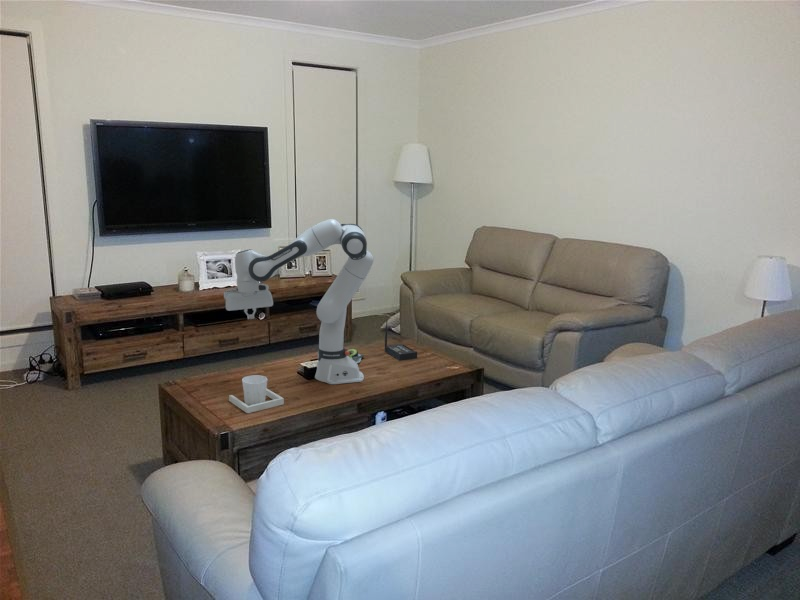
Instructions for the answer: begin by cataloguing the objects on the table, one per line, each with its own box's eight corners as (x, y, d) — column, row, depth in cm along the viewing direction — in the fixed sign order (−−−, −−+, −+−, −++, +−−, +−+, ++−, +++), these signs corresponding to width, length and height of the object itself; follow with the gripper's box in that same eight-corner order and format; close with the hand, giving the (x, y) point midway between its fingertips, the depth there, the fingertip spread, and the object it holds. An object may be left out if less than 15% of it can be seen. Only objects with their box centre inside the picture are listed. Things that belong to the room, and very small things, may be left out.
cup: (268, 405, 251) (269, 382, 248) (243, 407, 247) (243, 384, 245) (265, 396, 260) (265, 374, 258) (241, 398, 256) (240, 376, 254)
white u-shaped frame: (229, 401, 253) (229, 395, 253) (265, 392, 264) (265, 387, 263) (247, 413, 242) (247, 407, 242) (283, 404, 253) (283, 398, 252)
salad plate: (361, 369, 301) (362, 360, 300) (325, 367, 301) (325, 358, 300) (364, 356, 319) (365, 348, 318) (330, 354, 320) (330, 346, 319)
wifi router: (419, 358, 321) (421, 326, 317) (396, 362, 314) (398, 329, 310) (400, 347, 338) (402, 317, 334) (378, 350, 331) (379, 319, 327)
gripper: (223, 290, 263) (226, 322, 264) (271, 285, 268) (274, 317, 270) (223, 289, 269) (226, 320, 270) (270, 284, 274) (273, 315, 276)
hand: (251, 318), depth 270 cm, fingers closed
